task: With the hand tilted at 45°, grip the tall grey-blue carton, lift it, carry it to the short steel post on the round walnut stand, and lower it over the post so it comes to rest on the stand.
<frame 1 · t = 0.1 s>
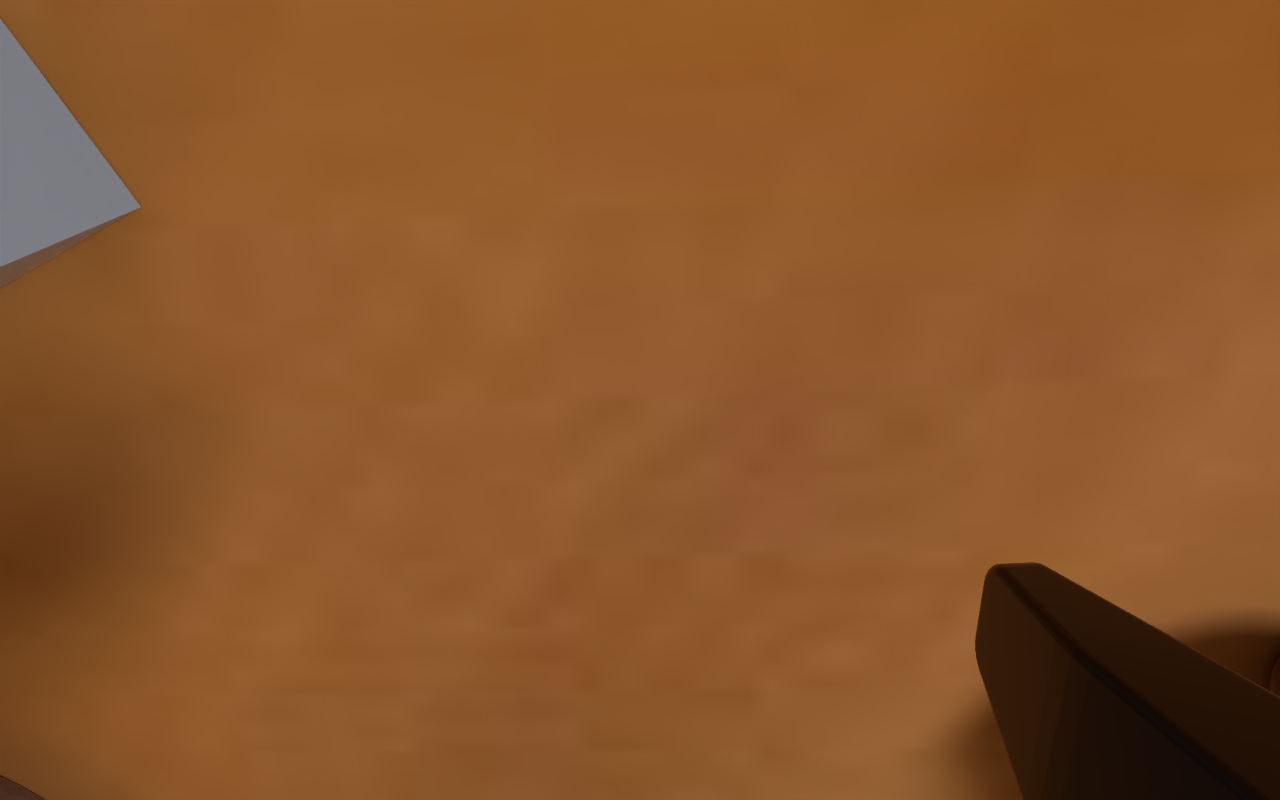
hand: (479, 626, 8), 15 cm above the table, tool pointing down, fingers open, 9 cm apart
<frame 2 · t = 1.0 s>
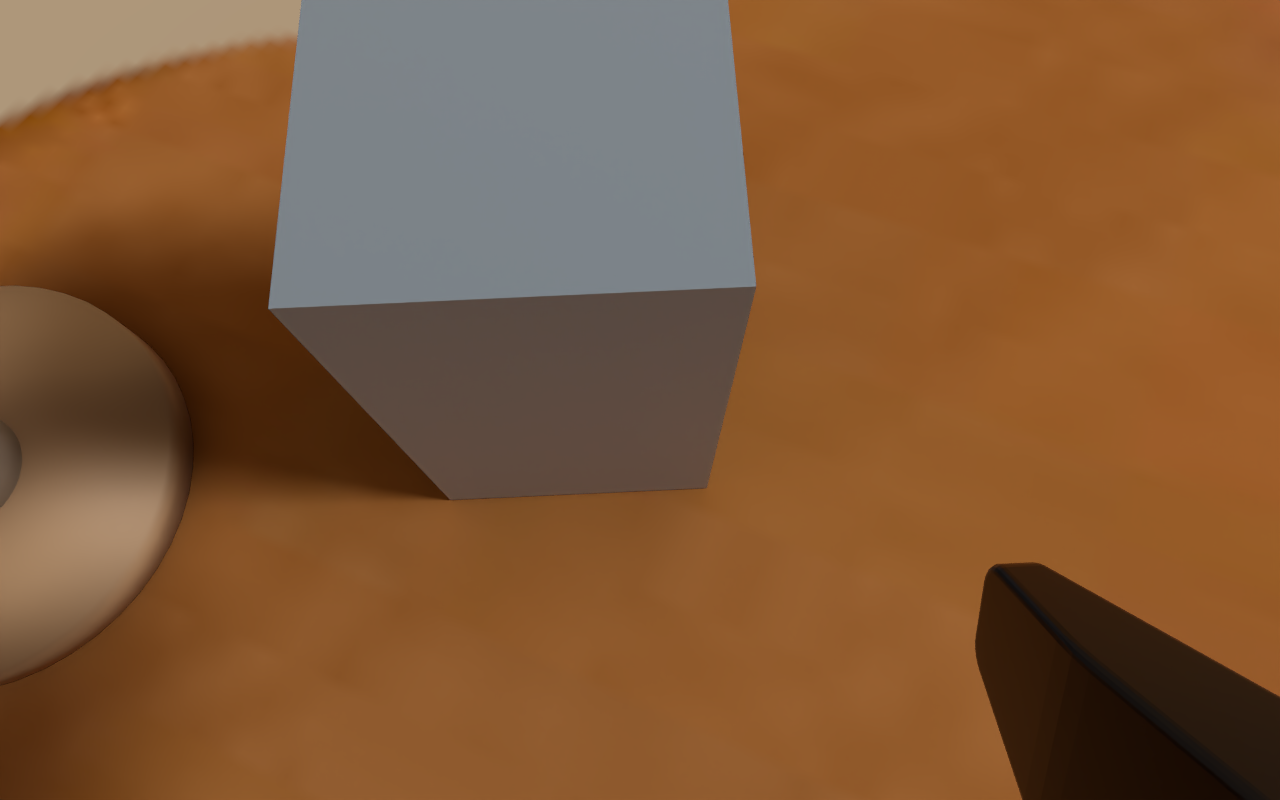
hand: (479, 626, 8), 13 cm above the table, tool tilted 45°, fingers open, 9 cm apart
tall grey-blue carton: (575, 374, 23), on the table
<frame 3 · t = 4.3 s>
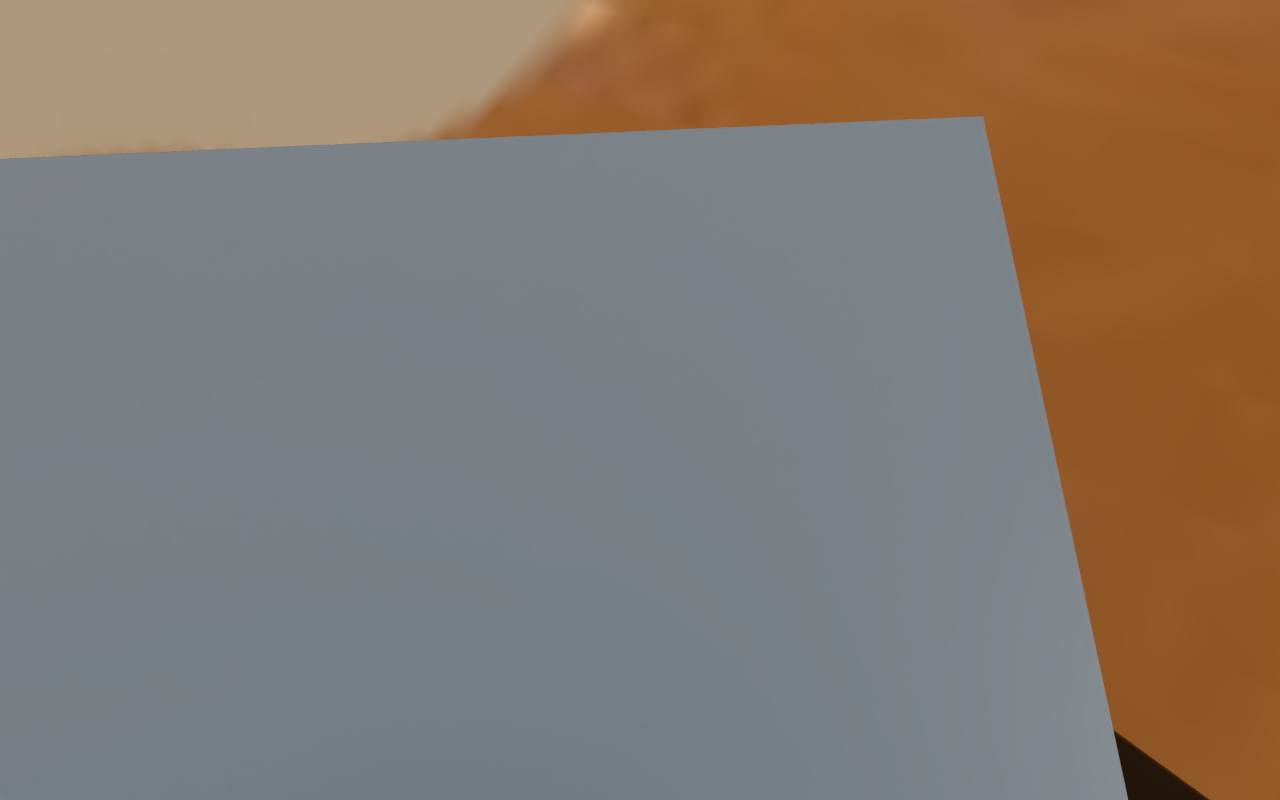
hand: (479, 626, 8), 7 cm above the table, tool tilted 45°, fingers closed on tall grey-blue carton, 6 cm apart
tall grey-blue carton: (556, 762, 13), on the table, touching gripper
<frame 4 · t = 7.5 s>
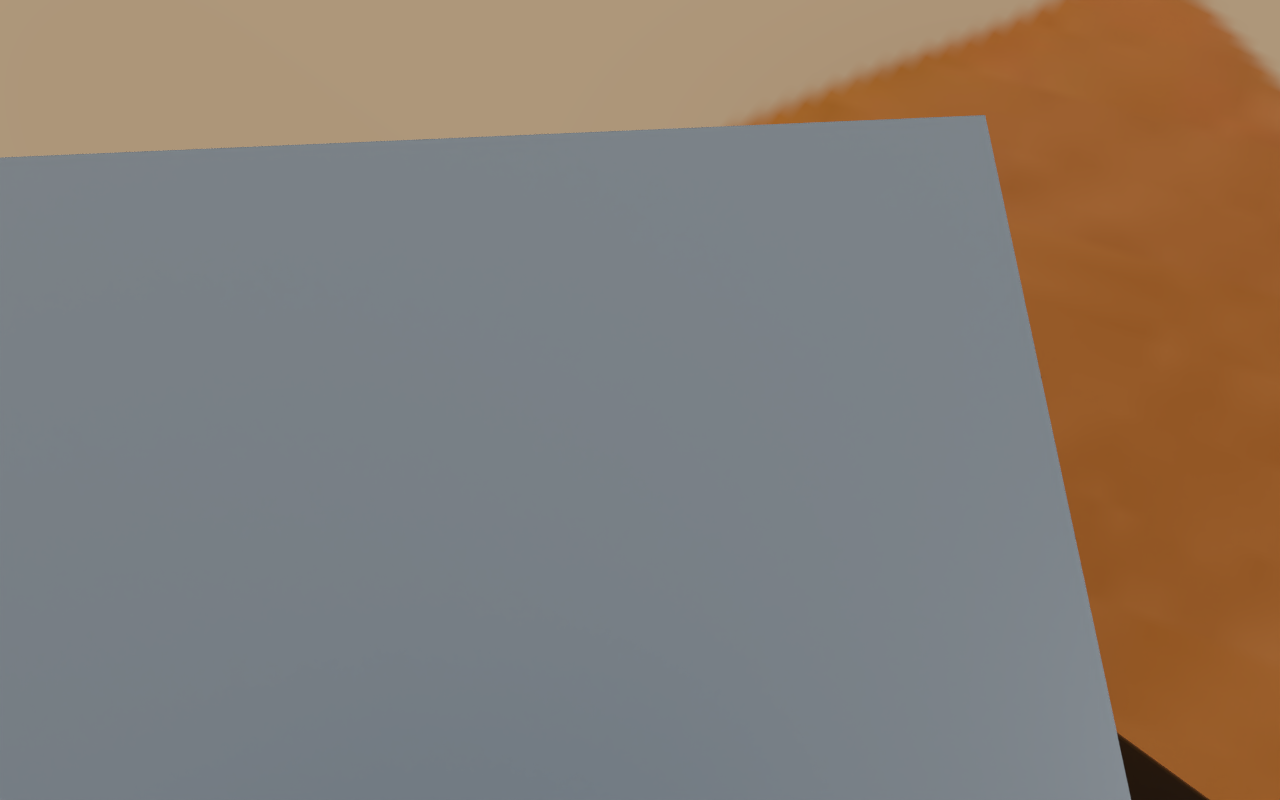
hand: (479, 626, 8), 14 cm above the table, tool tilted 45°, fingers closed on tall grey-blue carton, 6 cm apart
tall grey-blue carton: (557, 761, 13), point 7 cm above the table, touching gripper
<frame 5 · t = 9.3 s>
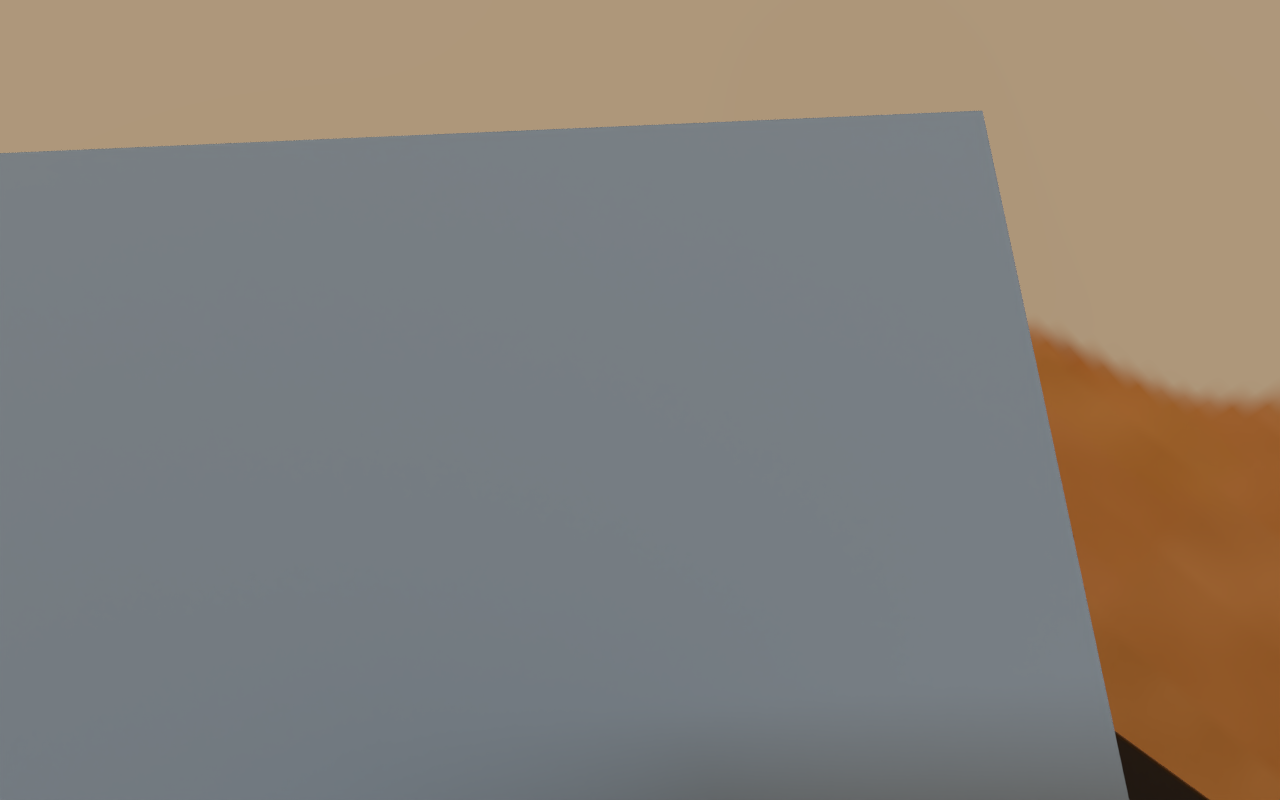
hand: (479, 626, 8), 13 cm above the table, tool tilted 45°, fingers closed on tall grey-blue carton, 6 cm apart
tall grey-blue carton: (556, 760, 13), point 6 cm above the table, touching gripper
when the fingers open (9 cm above the table, at t = 11.0 s): tall grey-blue carton drops 1 cm, resting on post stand.
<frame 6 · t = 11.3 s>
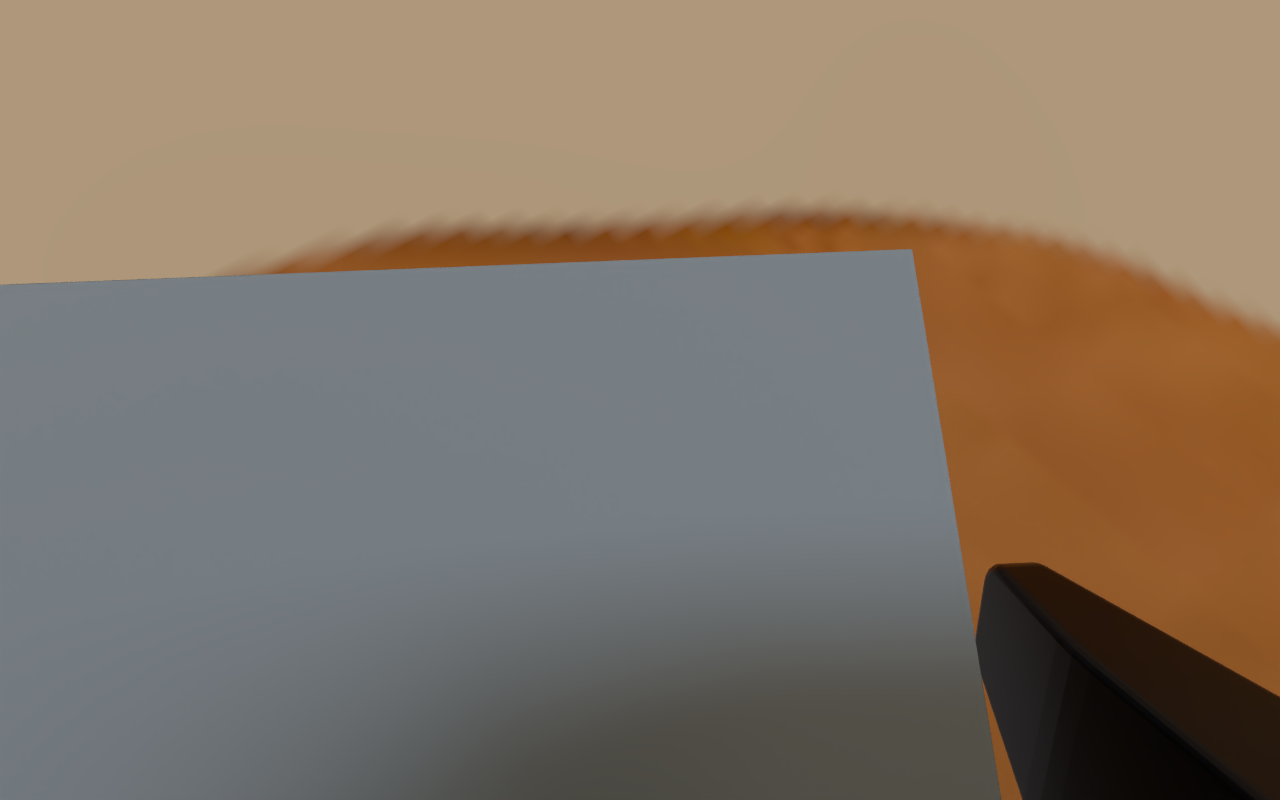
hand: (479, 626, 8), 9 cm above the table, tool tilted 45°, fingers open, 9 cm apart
tall grey-blue carton: (564, 756, 15), point 1 cm above the table, touching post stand
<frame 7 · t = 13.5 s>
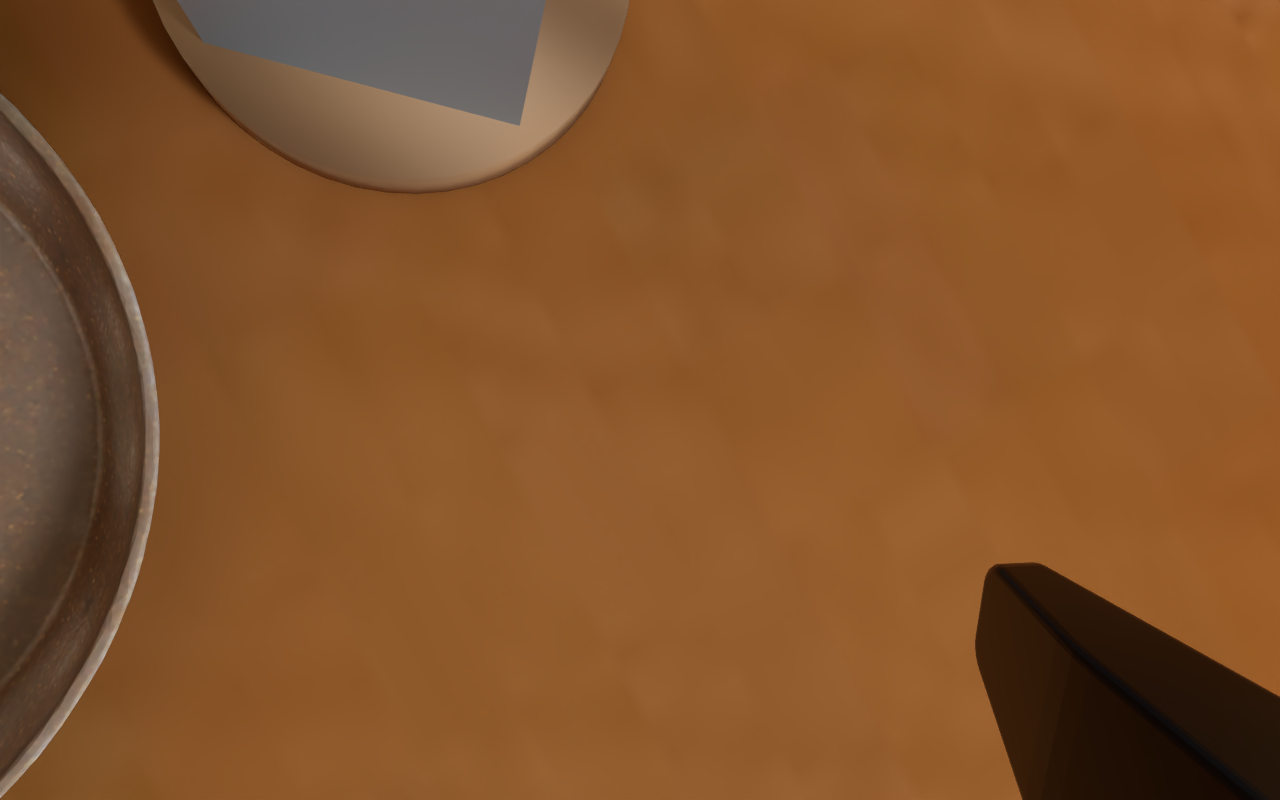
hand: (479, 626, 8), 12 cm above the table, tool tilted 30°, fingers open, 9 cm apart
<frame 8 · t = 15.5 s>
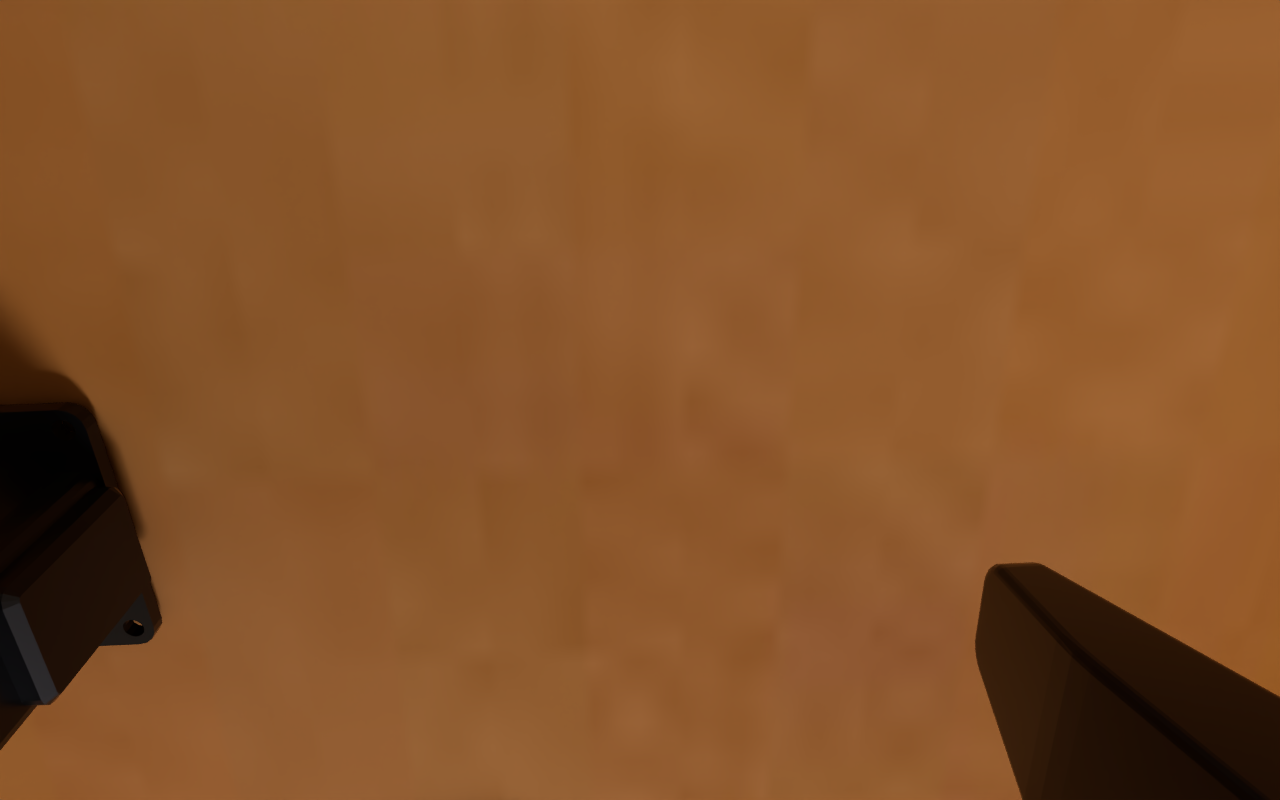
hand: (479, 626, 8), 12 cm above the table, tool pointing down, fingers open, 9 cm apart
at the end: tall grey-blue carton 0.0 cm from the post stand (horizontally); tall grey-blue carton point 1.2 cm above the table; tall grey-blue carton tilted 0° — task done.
